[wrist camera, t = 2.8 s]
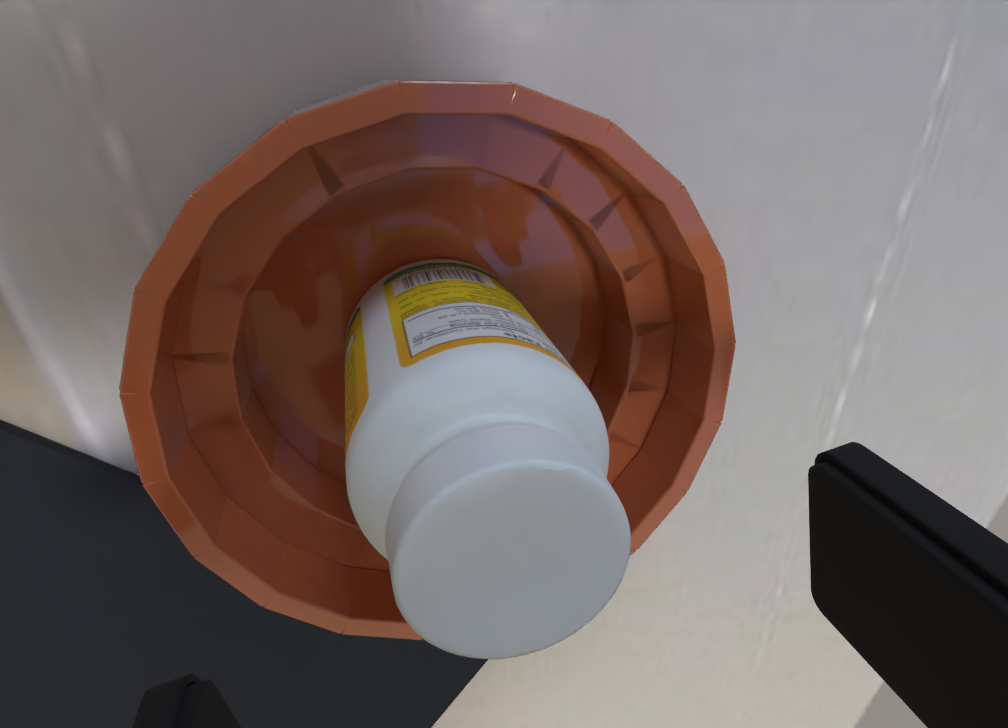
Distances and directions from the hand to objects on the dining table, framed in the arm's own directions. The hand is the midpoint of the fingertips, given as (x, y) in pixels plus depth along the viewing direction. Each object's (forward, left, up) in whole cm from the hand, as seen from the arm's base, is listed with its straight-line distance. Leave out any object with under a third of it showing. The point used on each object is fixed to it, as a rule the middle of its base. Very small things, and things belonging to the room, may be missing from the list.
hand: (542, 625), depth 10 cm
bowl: (0, 0, -11) cm, 11 cm away
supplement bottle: (0, 0, -11) cm, 11 cm away
